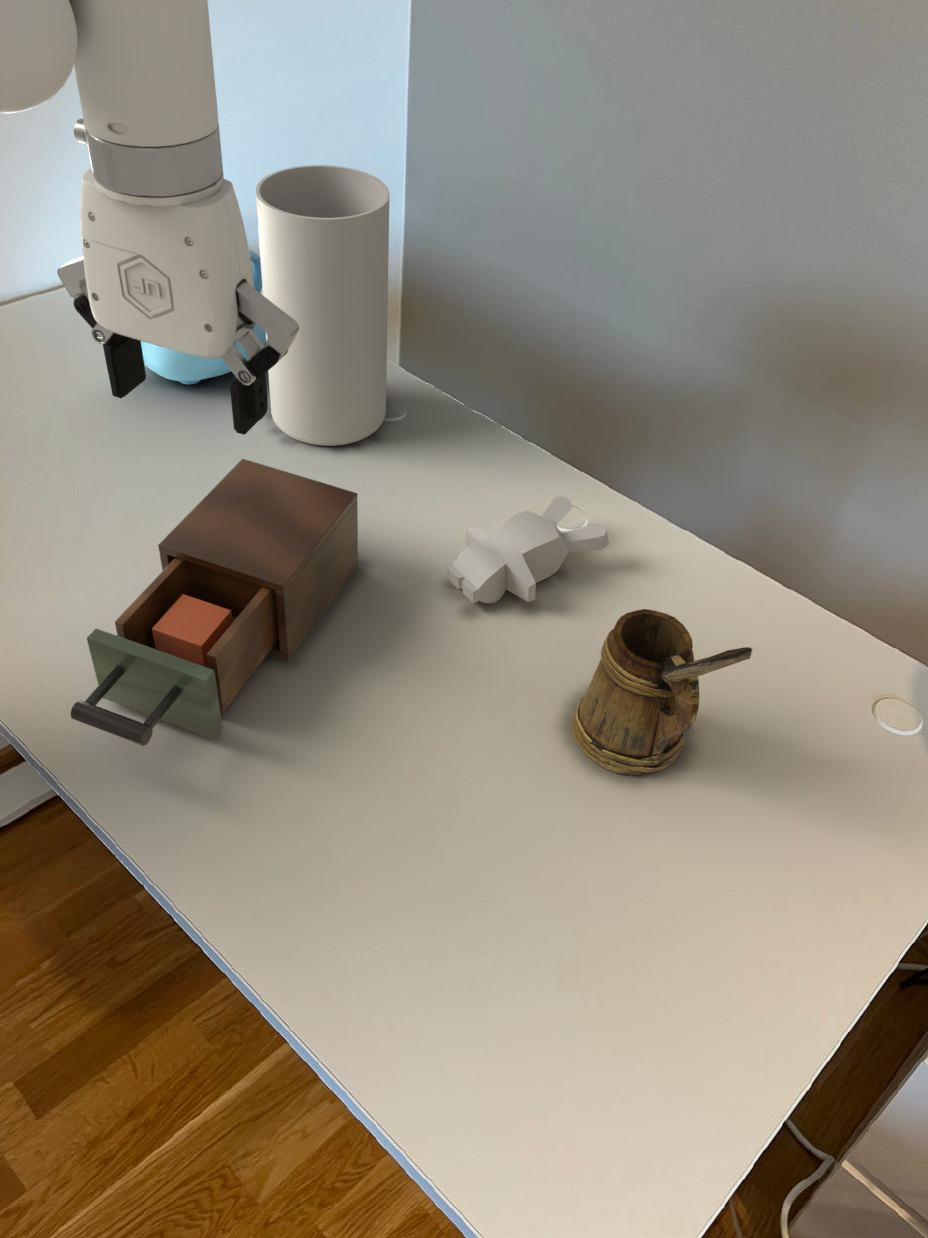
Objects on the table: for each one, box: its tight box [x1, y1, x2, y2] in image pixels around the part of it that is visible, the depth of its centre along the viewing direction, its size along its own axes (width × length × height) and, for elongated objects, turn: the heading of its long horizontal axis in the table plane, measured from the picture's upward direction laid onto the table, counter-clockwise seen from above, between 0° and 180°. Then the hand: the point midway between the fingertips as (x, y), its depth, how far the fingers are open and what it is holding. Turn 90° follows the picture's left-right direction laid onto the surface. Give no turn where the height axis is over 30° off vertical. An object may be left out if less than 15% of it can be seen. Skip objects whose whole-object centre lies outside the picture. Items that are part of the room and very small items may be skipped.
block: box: [152, 594, 233, 668], centre depth 86 cm, size 4×4×4 cm
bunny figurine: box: [447, 495, 610, 605], centre depth 100 cm, size 10×5×15 cm
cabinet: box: [157, 458, 359, 661], centre depth 94 cm, size 14×12×9 cm
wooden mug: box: [570, 608, 753, 776], centre depth 80 cm, size 9×14×18 cm, turn 20°
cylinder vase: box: [255, 164, 391, 447], centre depth 109 cm, size 12×12×25 cm
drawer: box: [70, 557, 279, 746], centre depth 84 cm, size 18×10×7 cm, turn 158°
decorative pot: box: [141, 249, 266, 385], centre depth 120 cm, size 16×16×14 cm
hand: (189, 405), depth 75 cm, fingers open, 9 cm apart
